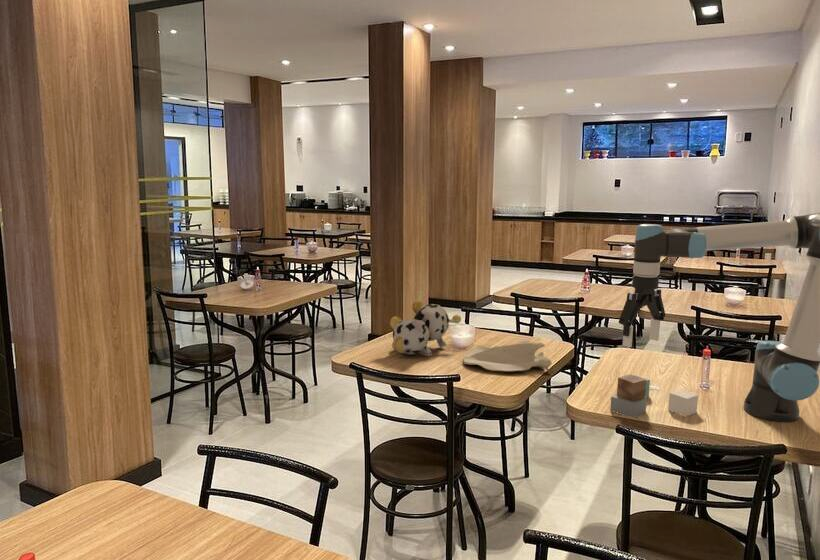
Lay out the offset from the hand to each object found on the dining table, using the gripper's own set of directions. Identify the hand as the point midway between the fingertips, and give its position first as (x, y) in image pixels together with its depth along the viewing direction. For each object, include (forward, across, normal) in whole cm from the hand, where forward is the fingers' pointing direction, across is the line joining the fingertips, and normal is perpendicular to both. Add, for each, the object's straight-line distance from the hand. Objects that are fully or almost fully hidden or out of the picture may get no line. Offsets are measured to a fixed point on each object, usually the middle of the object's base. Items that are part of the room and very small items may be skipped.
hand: (640, 343), depth 187 cm
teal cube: (+23, -13, -9) cm, 28 cm away
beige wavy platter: (+23, +3, -58) cm, 62 cm away
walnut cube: (+18, +1, -2) cm, 18 cm away
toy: (+23, +18, -92) cm, 96 cm away
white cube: (+23, -13, +8) cm, 27 cm away
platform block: (+23, +1, -2) cm, 23 cm away
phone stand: (+23, -23, -14) cm, 35 cm away
